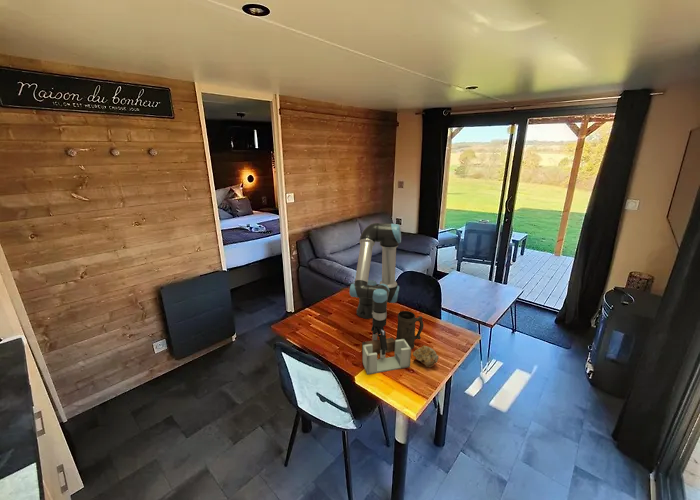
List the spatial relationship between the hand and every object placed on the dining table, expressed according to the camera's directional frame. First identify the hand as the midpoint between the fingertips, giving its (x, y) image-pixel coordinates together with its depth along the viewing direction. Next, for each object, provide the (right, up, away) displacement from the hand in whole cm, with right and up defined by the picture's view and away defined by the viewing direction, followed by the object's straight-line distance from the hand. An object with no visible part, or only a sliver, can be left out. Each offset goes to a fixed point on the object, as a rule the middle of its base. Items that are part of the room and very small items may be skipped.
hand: (378, 351), depth 167 cm
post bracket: (+3, -3, -11) cm, 12 cm away
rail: (0, 0, 0) cm, 0 cm away
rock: (+23, -3, -10) cm, 26 cm away
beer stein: (+18, +2, +6) cm, 19 cm away
